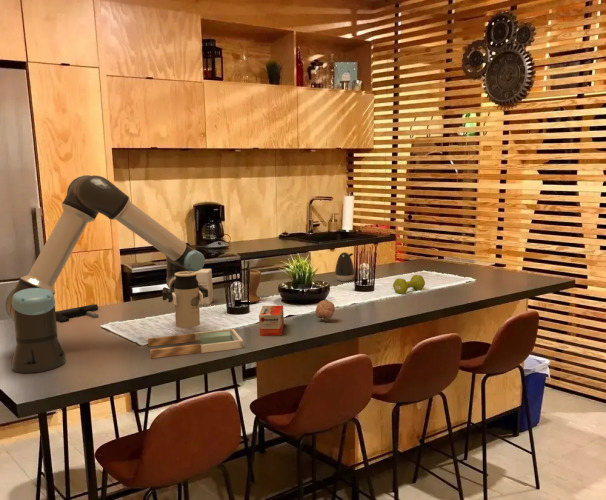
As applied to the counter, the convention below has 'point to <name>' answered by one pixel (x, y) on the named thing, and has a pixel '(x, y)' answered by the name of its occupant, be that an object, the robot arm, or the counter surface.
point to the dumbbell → (408, 284)
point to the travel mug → (187, 299)
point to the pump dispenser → (344, 267)
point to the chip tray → (222, 345)
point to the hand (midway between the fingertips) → (188, 299)
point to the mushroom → (325, 310)
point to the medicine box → (271, 320)
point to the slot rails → (173, 350)
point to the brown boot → (254, 285)
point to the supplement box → (205, 284)
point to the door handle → (76, 313)
